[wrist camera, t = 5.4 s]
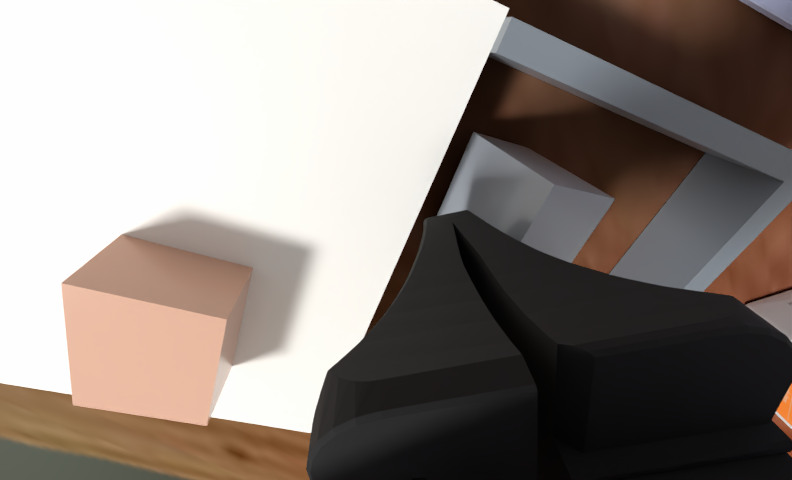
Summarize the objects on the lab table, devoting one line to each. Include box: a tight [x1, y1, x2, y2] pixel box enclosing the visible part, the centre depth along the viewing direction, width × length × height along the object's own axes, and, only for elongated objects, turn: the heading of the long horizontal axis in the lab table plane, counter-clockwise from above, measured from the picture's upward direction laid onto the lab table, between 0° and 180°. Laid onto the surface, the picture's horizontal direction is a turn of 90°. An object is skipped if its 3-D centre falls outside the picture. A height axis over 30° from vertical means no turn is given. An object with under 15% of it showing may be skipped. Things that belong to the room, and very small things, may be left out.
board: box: [0, 0, 509, 433], centre depth 12 cm, size 15×18×2 cm
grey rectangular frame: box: [488, 17, 792, 292], centre depth 15 cm, size 11×18×3 cm, turn 160°
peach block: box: [61, 234, 253, 426], centre depth 12 cm, size 4×5×2 cm
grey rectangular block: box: [437, 132, 615, 263], centre depth 12 cm, size 4×5×2 cm
